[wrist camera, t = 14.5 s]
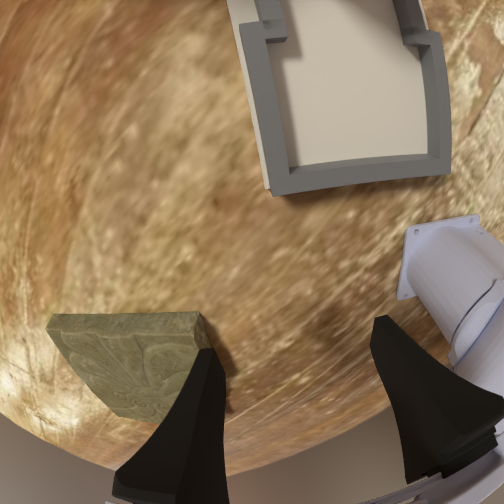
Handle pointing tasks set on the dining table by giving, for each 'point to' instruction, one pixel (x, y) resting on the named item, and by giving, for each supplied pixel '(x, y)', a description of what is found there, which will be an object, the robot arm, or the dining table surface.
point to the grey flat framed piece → (343, 91)
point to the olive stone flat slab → (131, 357)
